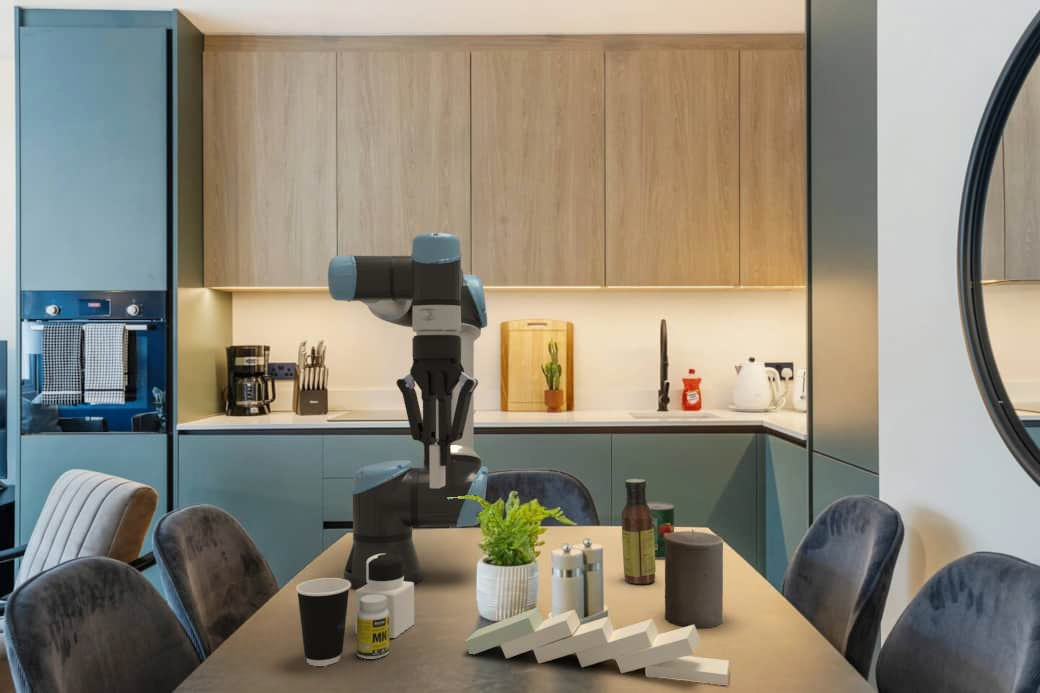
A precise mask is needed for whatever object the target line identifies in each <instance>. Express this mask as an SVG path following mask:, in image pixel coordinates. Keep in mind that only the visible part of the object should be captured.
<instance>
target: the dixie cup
mask: <svg viewBox="0 0 1040 693" xmlns="http://www.w3.org/2000/svg"><path fill="white" fill-rule="evenodd" d="M350 588H351V583H350V582H349V581H348V580H345V579H344V578H340V577H339V578H338V577H321V578H320V577H319V578H314V579H309V580H306V581H302V582H300V583H298V584H297V585H296V586H295V591H296V593H297V599H298V607H299V615H300V625H301V626H300V627H301V633H302V634H301V635H302V643H303V644H302V645H303V652H304V657H305V658H306V663H309V664H311V665H327V664H331V663H334V662H336V661H338V660H339V659H340V660H341V656H342V653H343V651H344V641H345V640H344V639H345V630H346V621H347V610H348V602H349V592H350ZM309 664H308V665H309Z"/></svg>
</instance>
